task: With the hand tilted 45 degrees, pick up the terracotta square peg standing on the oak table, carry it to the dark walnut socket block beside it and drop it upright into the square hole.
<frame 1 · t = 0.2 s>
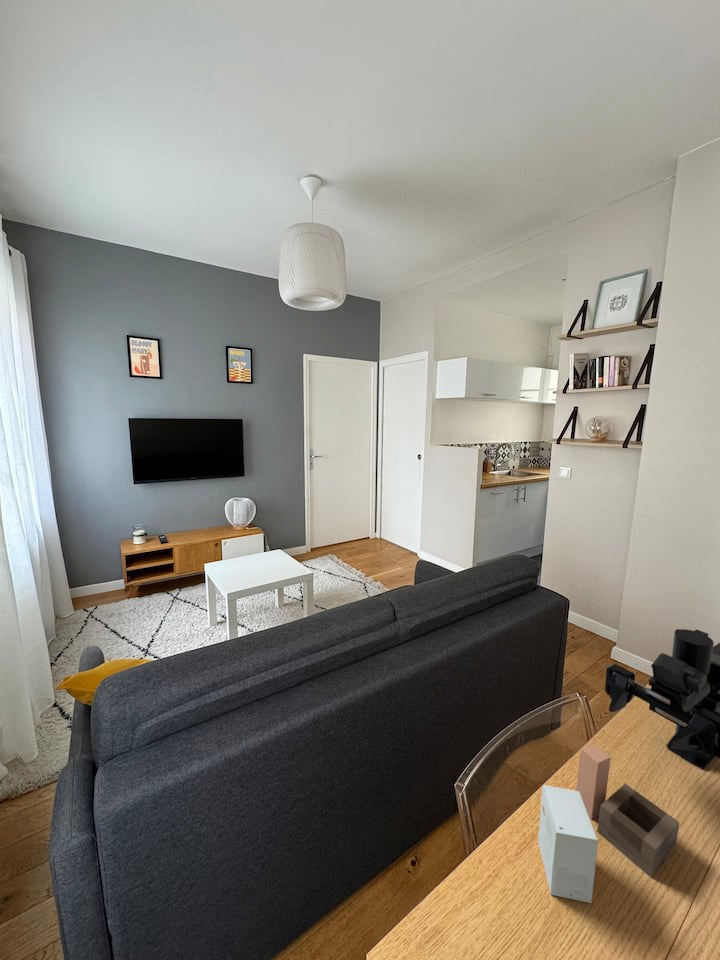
hand: (638, 726, 68), 17 cm above the table, tool horizontal, fingers open, 9 cm apart
socket block: (635, 840, 66), on the table
small box: (562, 871, 61), on the table
peg: (589, 807, 71), on the table
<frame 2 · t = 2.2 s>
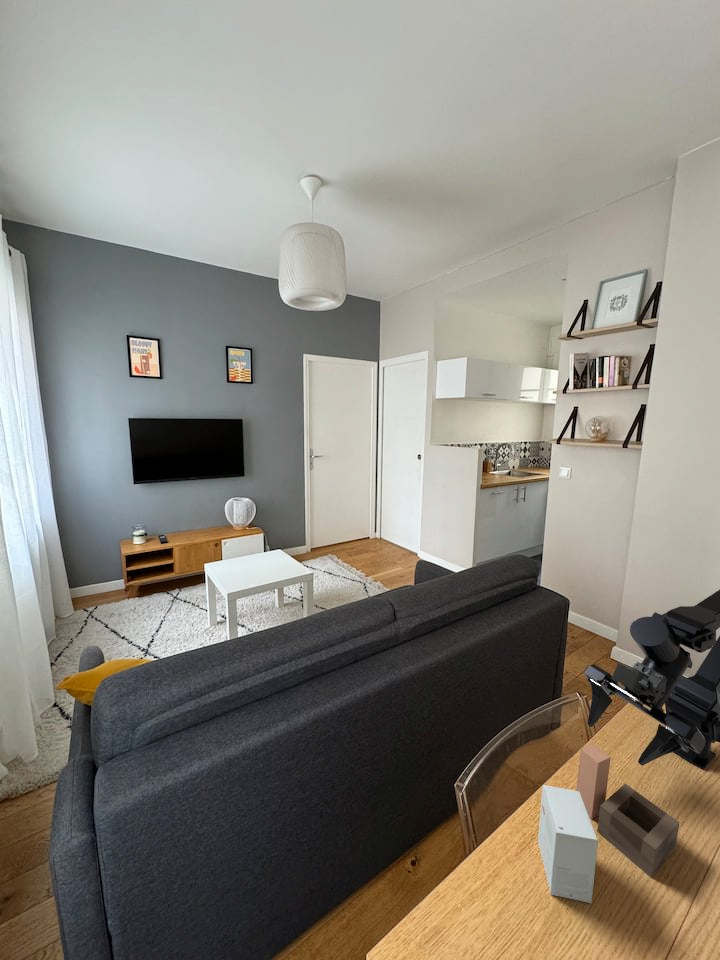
hand: (613, 743, 71), 11 cm above the table, tool tilted 45°, fingers open, 9 cm apart
nothing on the table moved.
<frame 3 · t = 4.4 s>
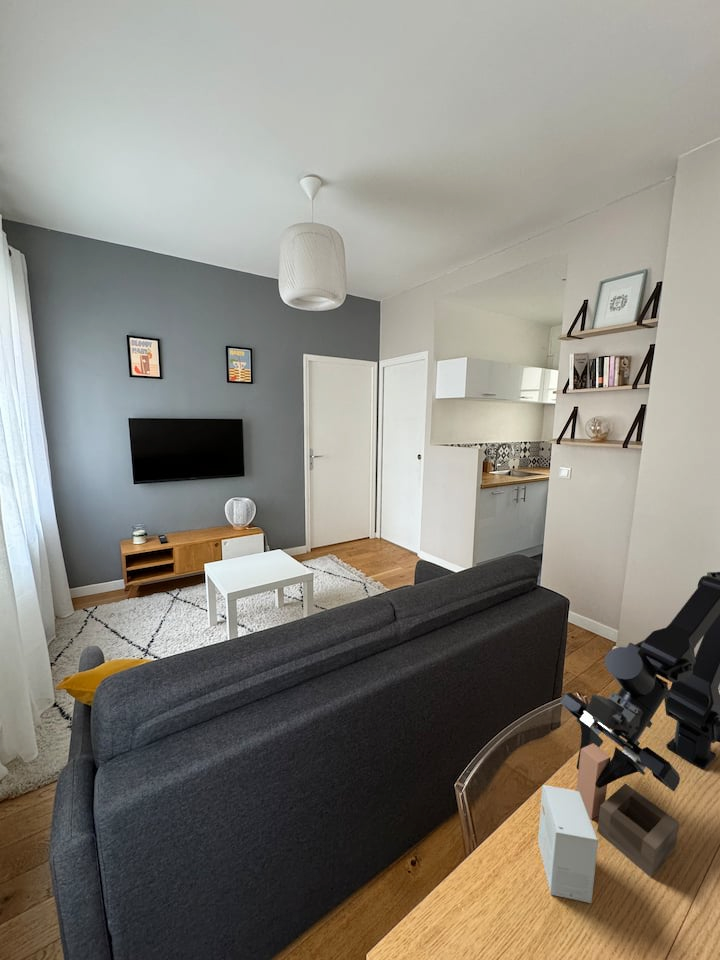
hand: (587, 777, 70), 7 cm above the table, tool tilted 45°, fingers closed on peg, 3 cm apart
peg: (589, 807, 71), on the table, touching gripper
everything else where it was.
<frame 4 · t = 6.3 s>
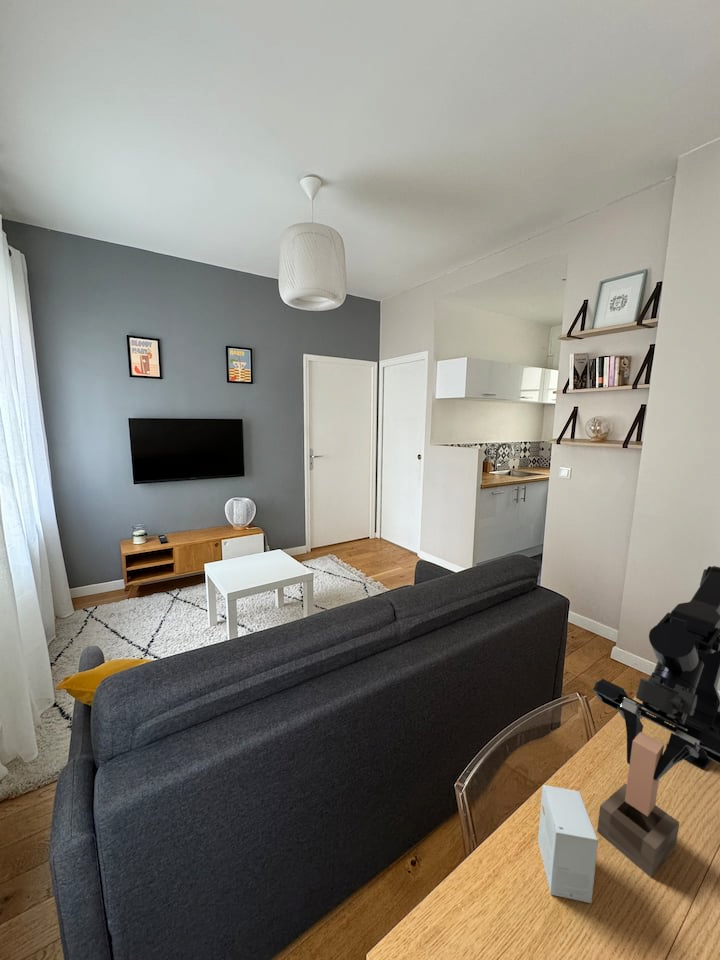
hand: (641, 771, 63), 13 cm above the table, tool tilted 45°, fingers closed on peg, 3 cm apart
peg: (639, 803, 65), point 7 cm above the table, touching gripper
everything else where it was.
when the fingers open (8 cm above the table, at t = 8.6 s): peg stays where it is, resting on socket block.
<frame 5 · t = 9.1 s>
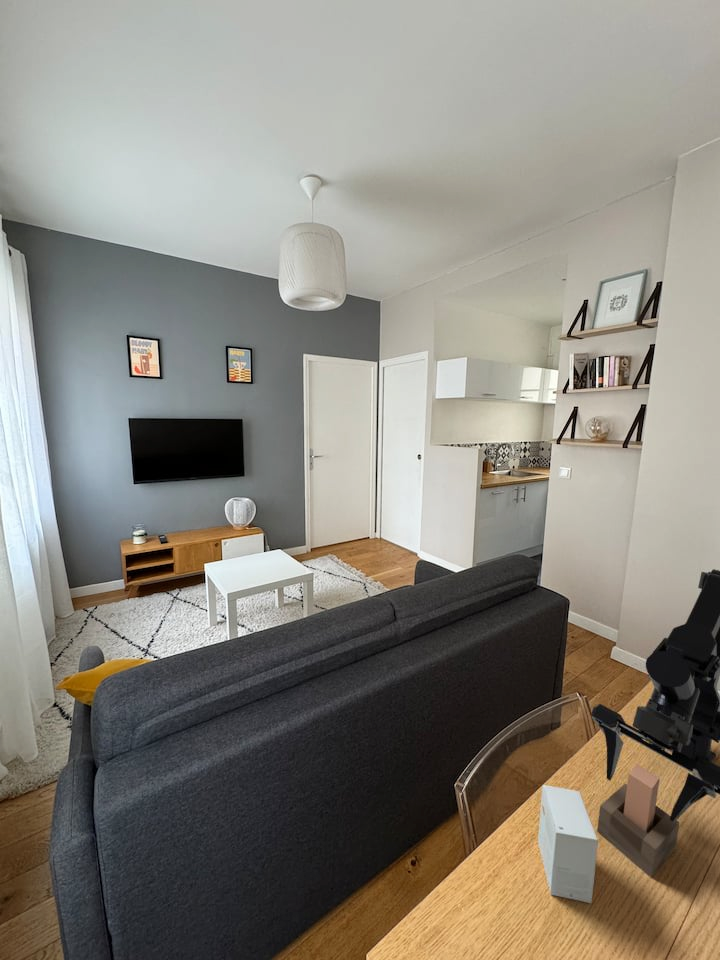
hand: (638, 799, 64), 9 cm above the table, tool tilted 45°, fingers open, 8 cm apart
peg: (635, 834, 66), point 1 cm above the table, touching socket block
everything else where it was.
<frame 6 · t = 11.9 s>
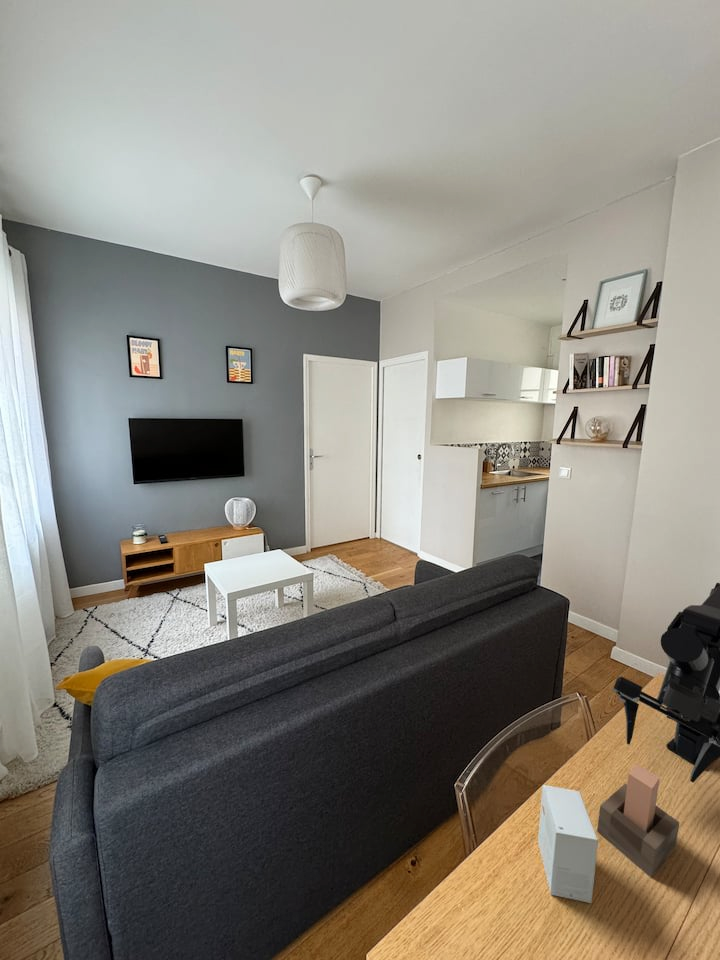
hand: (658, 762, 70), 9 cm above the table, tool tilted 40°, fingers open, 9 cm apart
nothing on the table moved.
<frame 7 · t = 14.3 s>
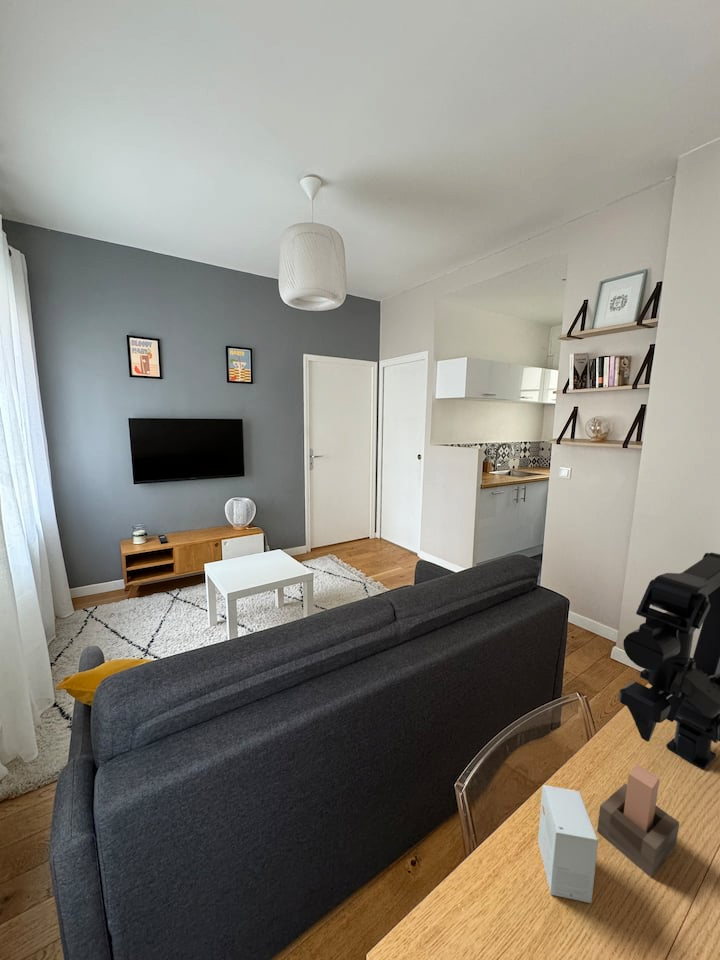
hand: (657, 729, 72), 13 cm above the table, tool pointing down, fingers open, 9 cm apart
nothing on the table moved.
at the end: peg 0.0 cm off-centre on the socket block, point 1.0 cm above the socket block's base; peg tilted 0°; the gripper is holding nothing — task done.
